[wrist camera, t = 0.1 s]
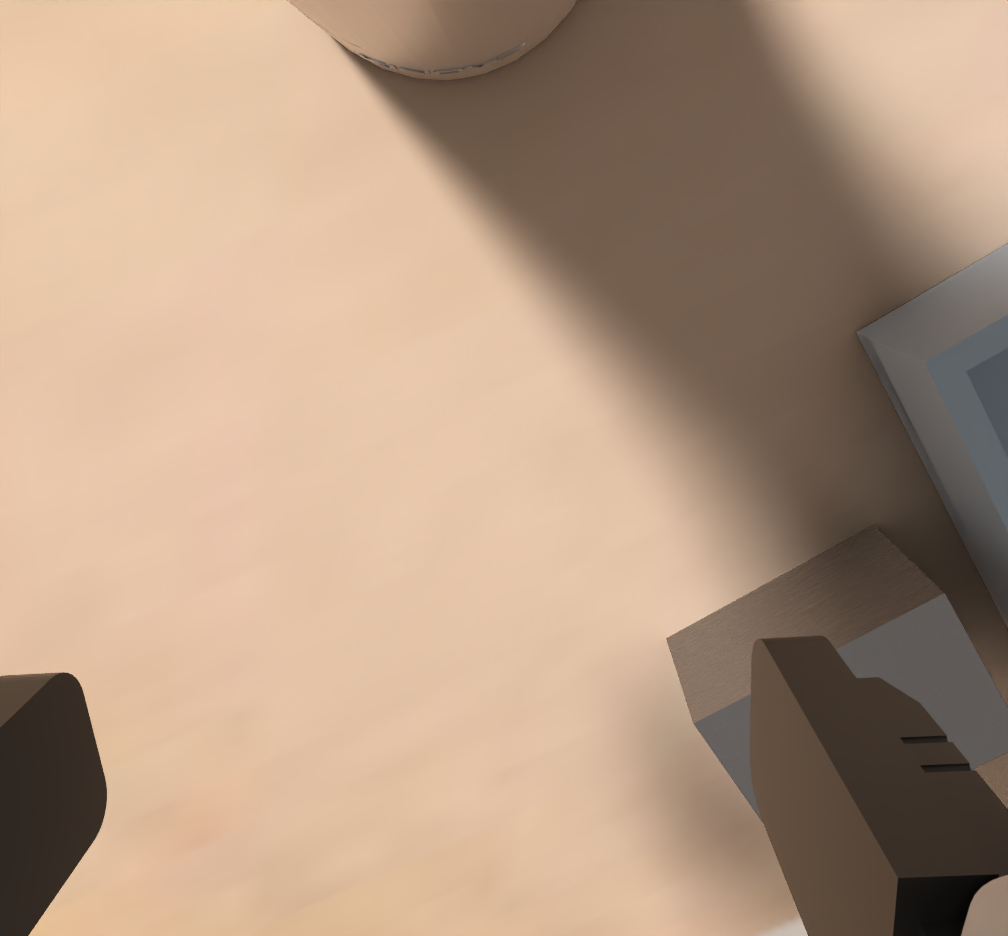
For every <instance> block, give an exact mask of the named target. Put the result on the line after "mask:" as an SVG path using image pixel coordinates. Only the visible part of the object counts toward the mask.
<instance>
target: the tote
mask: <svg viewBox="0 0 1008 936" xmlns="http://www.w3.org/2000/svg"><path fill="white" fill-rule="evenodd" d="M856 333H857V335H858V337H859V339H860V341H861V343H862V345H863V347H864V349H865V351H866V353H867V355H868V357H869V359H870V361H871V363H872V365H873V367H874V368H875V370H876V372H877V374H878V376H879V378H880V380H881V382H882V384H883V386H884V388H885V390H886V392H887V394H888V396H889V398H890V400H891V402H892V404H893V406H894V408H895V410H896V412H897V413H898V415H899V417H900V419H901V421H902V423H903V425H904V427H905V429H906V431H907V433H908V435H909V437H910V439H911V441H912V443H913V445H914V447H915V449H916V451H917V453H918V455H919V457H920V459H921V460H922V462H923V464H924V466H925V468H926V470H927V472H928V474H929V476H930V478H931V480H932V482H933V484H934V486H935V488H936V490H937V492H938V494H939V496H940V498H941V500H942V502H943V504H944V505H945V507H946V509H947V511H948V513H949V515H950V517H951V519H952V521H953V523H954V525H955V527H956V529H957V531H958V533H959V535H960V537H961V539H962V541H963V543H964V545H965V547H966V549H967V550H968V552H969V554H970V556H971V558H972V560H973V562H974V564H975V566H976V568H977V570H978V572H979V574H980V576H981V578H982V580H983V582H984V584H985V586H986V588H987V590H988V592H989V594H990V595H991V597H992V599H993V601H994V603H995V605H996V607H997V609H998V611H999V613H1000V615H1001V617H1002V619H1003V621H1004V623H1005V625H1006V627H1007V629H1008V243H1007V244H1006V245H1004V246H1002V247H1001V248H999V249H997V250H996V251H994V252H992V253H990V254H989V255H987V256H985V257H984V258H982V259H980V260H978V261H977V262H975V263H973V264H972V265H970V266H968V267H967V268H965V269H963V270H961V271H960V272H958V273H956V274H955V275H953V276H951V277H949V278H948V279H946V280H944V281H943V282H941V283H939V284H938V285H936V286H934V287H932V288H931V289H929V290H927V291H926V292H924V293H922V294H920V295H919V296H917V297H915V298H914V299H912V300H910V301H909V302H907V303H905V304H903V305H902V306H900V307H898V308H897V309H895V310H893V311H892V312H890V313H888V314H886V315H885V316H883V317H881V318H880V319H878V320H876V321H874V322H873V323H871V324H869V325H868V326H866V327H864V328H863V329H861V330H859V331H857V332H856Z"/></svg>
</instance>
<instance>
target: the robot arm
mask: <svg viewBox="0 0 1008 936" xmlns="http://www.w3.org/2000/svg"><path fill="white" fill-rule="evenodd" d="M287 1H288V2H290V3H291V4H292V5H293V6H295V7H296V8H297V9H298V10H299V11H301V12H302V13H303V14H304V15H306V16H307V17H308V18H309V19H311V20H312V21H313V22H315V23H316V24H317V25H318V26H320V27H321V28H322V29H323V30H325V31H326V32H327V33H328V34H330V35H331V36H332V37H334V38H335V39H336V40H337V41H339V42H340V43H341V44H342V45H344V46H345V47H346V48H347V49H349V50H350V51H351V52H353V53H355V54H357V55H359V56H360V57H362V58H364V59H366V60H368V61H369V62H371V63H373V64H375V65H377V66H378V67H380V68H382V69H385V70H389V71H392V72H396V73H399V74H402V75H406V76H409V77H413V78H418V79H436V80H455V79H460V78H466V77H471V76H477V75H483V74H486V73H488V72H490V71H493V70H495V69H497V68H500V67H502V66H504V65H507V64H509V63H511V62H514V61H516V60H517V59H519V58H520V57H521V56H523V55H524V54H526V53H527V52H528V51H530V50H531V49H532V48H534V47H535V46H537V45H538V44H539V43H541V42H542V41H543V40H545V39H546V38H547V37H548V36H549V35H550V33H551V32H552V31H553V30H554V29H555V28H556V27H557V26H558V25H559V23H560V22H561V21H562V20H563V19H564V18H565V17H566V16H567V15H568V13H569V12H570V11H571V10H572V8H573V6H574V5H575V3H576V1H577V0H287ZM750 771H751V779H752V785H753V791H754V796H755V800H756V804H757V807H758V810H759V813H760V816H761V818H762V821H763V823H764V826H765V828H766V831H767V833H768V836H769V838H770V841H771V843H772V846H773V848H774V851H775V853H776V856H777V858H778V861H779V864H780V866H781V869H782V871H783V874H784V876H785V879H786V881H787V884H788V886H789V889H790V891H791V894H792V896H793V899H794V901H795V904H796V906H797V909H798V911H799V914H800V916H801V919H802V921H803V924H804V926H805V929H806V931H807V934H808V936H1008V809H1007V808H1006V807H1005V805H1004V804H1003V803H1002V802H1001V801H1000V799H999V798H998V797H997V796H996V795H995V793H994V792H993V791H992V790H991V788H990V787H989V786H988V785H987V784H986V782H985V781H984V780H983V779H982V778H981V776H980V775H979V774H978V773H977V771H971V768H970V763H969V762H968V760H967V759H966V758H965V757H964V756H963V754H962V753H961V752H960V751H959V750H958V748H957V747H956V746H955V745H954V743H953V742H948V740H947V735H946V734H945V733H944V731H943V730H942V729H941V728H940V726H939V725H938V724H937V723H936V722H935V720H934V719H933V718H932V717H931V716H930V714H929V713H928V712H927V711H926V709H925V708H924V707H923V706H922V705H921V703H919V702H918V701H916V700H915V699H913V698H911V697H910V696H908V695H907V694H905V693H903V692H902V691H900V690H899V689H897V688H895V687H894V686H892V685H891V684H889V683H888V682H886V681H884V680H883V679H881V678H880V677H872V678H856V677H855V675H854V674H853V673H852V671H851V670H850V669H849V667H848V666H847V664H846V663H845V662H844V660H843V659H842V658H841V656H840V655H839V653H838V652H837V651H836V649H835V648H834V647H833V645H832V644H831V642H830V641H829V640H828V639H827V638H826V637H825V636H822V635H819V636H800V637H780V638H761V639H756V641H755V642H754V645H753V649H752V660H751V705H750ZM106 802H107V787H106V781H105V776H104V772H103V768H102V764H101V760H100V756H99V752H98V748H97V745H96V741H95V737H94V733H93V729H92V725H91V721H90V717H89V713H88V709H87V705H86V701H85V697H84V693H83V690H82V687H81V685H80V683H79V682H78V680H77V679H76V678H75V677H74V676H73V675H71V674H69V673H45V674H26V675H6V676H1V677H0V936H28V935H29V934H30V932H31V931H32V929H33V928H34V927H35V925H36V924H37V922H38V921H39V919H40V918H41V916H42V915H43V914H44V912H45V911H46V909H47V908H48V906H49V905H50V903H51V902H52V901H53V899H54V898H55V896H56V895H57V893H58V892H59V890H60V889H61V888H62V886H63V885H64V883H65V882H66V880H67V879H68V877H69V876H70V875H71V873H72V872H73V870H74V869H75V867H76V866H77V864H78V863H79V862H80V860H81V859H82V857H83V856H84V854H85V853H86V851H87V850H88V849H89V847H90V846H91V844H92V843H93V841H94V840H95V838H96V836H97V834H98V832H99V830H100V828H101V825H102V822H103V818H104V815H105V809H106Z"/></svg>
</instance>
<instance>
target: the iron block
mask: <svg viewBox="0 0 1008 936" xmlns="http://www.w3.org/2000/svg"><path fill="white" fill-rule="evenodd" d="M819 635H822V636H825V637H826V638H827V639H828V640H829V641H830V642H831V644H832V645H833V647H834V648H835V649H836V651H837V652H838V653H839V655H840V656H841V658H842V659H843V660H844V662H845V663H846V664H847V666H848V667H849V669H850V670H851V671H852V673H853V674H854V675H855V677H856V678H872V677H880V678H881V679H883V680H884V681H886V682H888V683H889V684H891V685H892V686H894V687H895V688H897V689H899V690H900V691H902V692H903V693H905V694H907V695H908V696H910V697H911V698H913V699H915V700H916V701H918V702H919V703H921V705H922V706H923V707H924V708H925V709H926V711H927V712H928V713H929V714H930V716H931V717H932V718H933V719H934V720H935V722H936V723H937V724H938V725H939V726H940V728H941V729H942V730H943V731H944V733H945V734H946V735H947V740H948V742H953V743H954V745H955V746H956V747H957V748H958V750H959V751H960V752H961V753H962V754H963V756H964V757H965V758H966V759H967V760H968V762H969V763H970V768H971V770H972V769H974V768H976V767H978V766H980V765H982V764H985V763H987V762H989V761H991V760H993V759H995V758H997V757H999V756H1002V755H1004V754H1006V753H1008V707H1007V705H1006V703H1005V702H1004V700H1003V698H1002V696H1001V694H1000V693H999V691H998V689H997V687H996V685H995V683H994V682H993V680H992V678H991V676H990V674H989V673H988V671H987V669H986V667H985V665H984V663H983V662H982V660H981V658H980V656H979V654H978V653H977V651H976V649H975V647H974V645H973V643H972V642H971V640H970V638H969V636H968V634H967V633H966V631H965V629H964V627H963V625H962V623H961V622H960V620H959V618H958V616H957V614H956V613H955V611H954V609H953V607H952V605H951V603H950V602H949V600H948V598H947V596H946V594H945V593H944V592H943V591H942V590H941V589H940V588H939V587H938V586H937V585H936V584H935V583H934V582H933V581H932V580H931V579H930V578H929V577H927V576H926V575H925V574H924V573H923V572H922V571H921V570H920V569H919V568H918V567H917V566H916V565H915V564H914V563H913V562H912V561H911V560H910V559H909V558H908V557H907V556H906V555H904V554H903V553H902V552H901V551H900V550H899V549H898V548H897V547H896V546H895V545H894V544H893V543H892V542H891V541H890V540H889V539H888V538H887V537H886V536H885V535H884V534H883V533H881V532H880V531H879V530H878V529H877V528H876V527H875V526H874V525H873V526H871V527H869V528H867V529H865V530H864V531H862V532H860V533H858V534H856V535H854V536H853V537H851V538H849V539H847V540H845V541H844V542H842V543H840V544H838V545H836V546H834V547H833V548H831V549H829V550H827V551H825V552H823V553H822V554H820V555H818V556H816V557H814V558H812V559H811V560H809V561H807V562H805V563H803V564H801V565H800V566H798V567H796V568H794V569H792V570H790V571H789V572H787V573H785V574H783V575H781V576H780V577H778V578H776V579H774V580H772V581H770V582H769V583H767V584H765V585H763V586H761V587H759V588H758V589H756V590H754V591H752V592H750V593H748V594H747V595H745V596H743V597H741V598H739V599H737V600H736V601H734V602H732V603H730V604H728V605H727V606H725V607H723V608H721V609H719V610H717V611H716V612H714V613H712V614H710V615H708V616H706V617H705V618H703V619H701V620H699V621H697V622H695V623H694V624H692V625H690V626H688V627H686V628H684V629H683V630H681V631H679V632H677V633H675V634H674V635H672V636H670V637H668V638H666V639H667V642H668V645H669V649H670V652H671V655H672V658H673V661H674V664H675V667H676V670H677V673H678V677H679V680H680V683H681V686H682V689H683V692H684V695H685V698H686V701H687V705H688V708H689V711H690V714H691V717H692V720H693V723H694V725H695V726H696V728H697V729H698V731H699V732H700V733H701V735H702V736H703V738H704V739H705V741H706V742H707V743H708V745H709V746H710V748H711V749H712V751H713V752H714V753H715V755H716V756H717V758H718V759H719V761H720V762H721V764H722V765H723V766H724V768H725V769H726V771H727V772H728V774H729V775H730V776H731V778H732V779H733V781H734V782H735V784H736V785H737V786H738V788H739V789H740V791H741V792H742V794H743V795H744V796H745V798H746V799H747V801H748V802H749V804H750V805H751V806H752V808H753V809H754V811H755V812H756V814H757V815H758V817H759V818H760V819H761V821H762V818H761V816H760V813H759V810H758V807H757V804H756V800H755V796H754V791H753V785H752V779H751V771H750V705H751V660H752V649H753V645H754V642H755V641H756V639H761V638H780V637H800V636H819ZM762 822H763V821H762ZM763 824H764V823H763Z"/></svg>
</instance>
